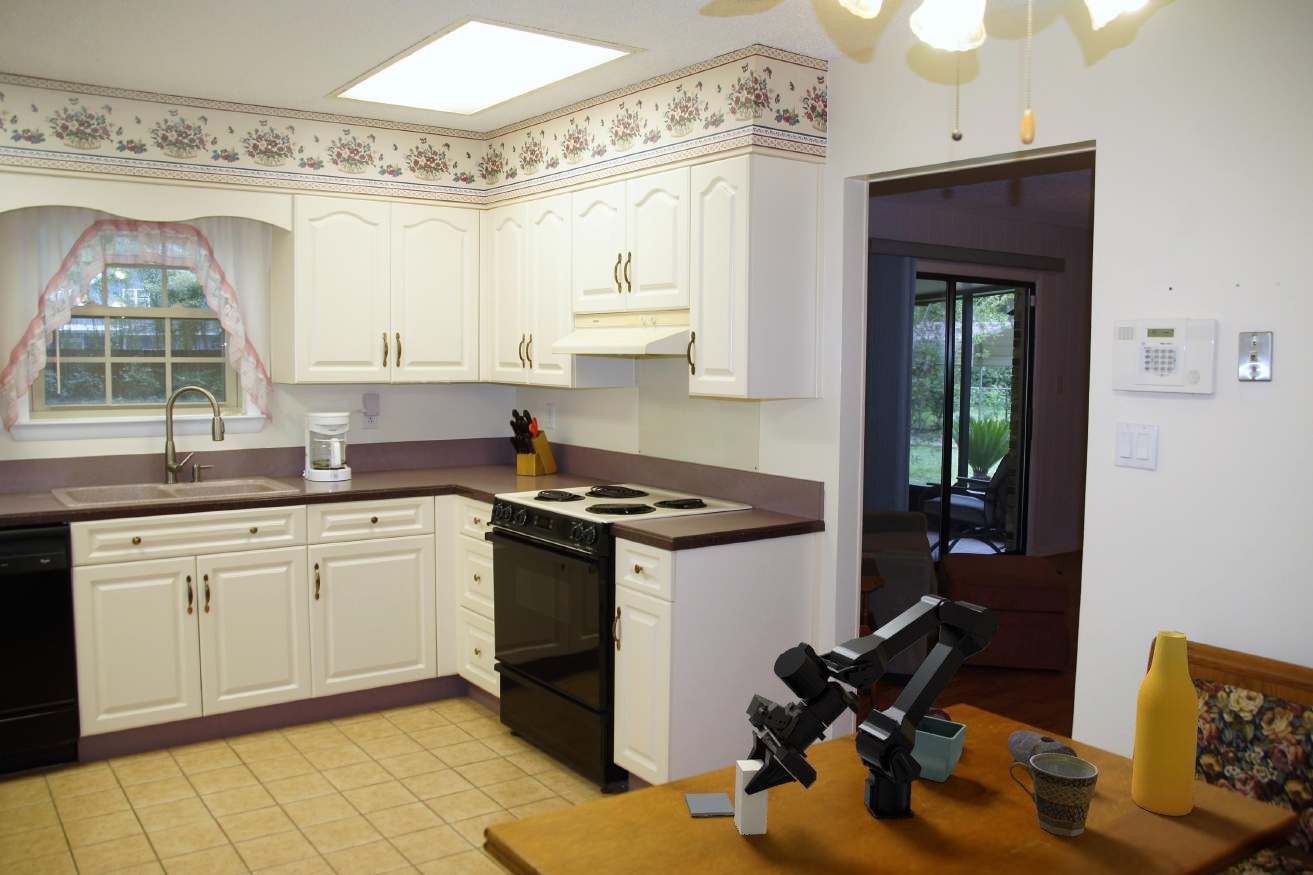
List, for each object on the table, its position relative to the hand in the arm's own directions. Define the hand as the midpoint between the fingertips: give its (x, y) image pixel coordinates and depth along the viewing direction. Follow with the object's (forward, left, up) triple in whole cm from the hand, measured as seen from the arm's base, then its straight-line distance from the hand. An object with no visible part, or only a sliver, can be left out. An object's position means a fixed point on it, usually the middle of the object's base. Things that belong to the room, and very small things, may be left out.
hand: (742, 786), depth 151 cm
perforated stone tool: (-58, -19, -7) cm, 62 cm away
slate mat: (+4, -8, -7) cm, 11 cm away
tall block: (-1, 0, -7) cm, 7 cm away
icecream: (-45, -34, -7) cm, 57 cm away
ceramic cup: (-49, +2, -7) cm, 50 cm away
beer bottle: (-72, -4, -7) cm, 73 cm away
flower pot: (-38, -18, -7) cm, 43 cm away
